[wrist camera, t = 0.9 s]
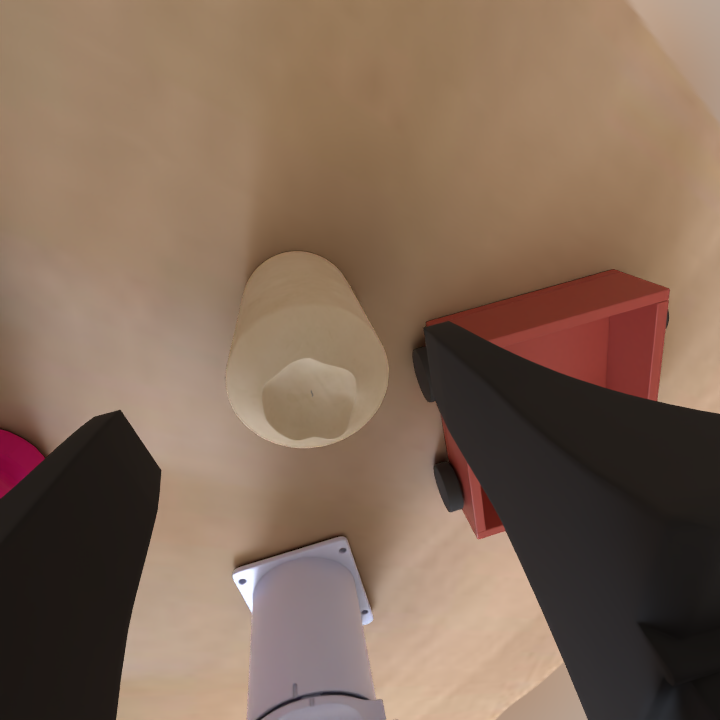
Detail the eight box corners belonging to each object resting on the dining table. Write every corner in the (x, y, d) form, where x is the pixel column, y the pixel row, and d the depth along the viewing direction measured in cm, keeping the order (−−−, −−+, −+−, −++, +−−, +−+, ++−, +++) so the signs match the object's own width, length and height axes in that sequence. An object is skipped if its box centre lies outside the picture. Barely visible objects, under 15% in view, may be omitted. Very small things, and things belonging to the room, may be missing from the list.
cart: (604, 448, 31) (647, 487, 27) (453, 494, 30) (477, 540, 26) (613, 268, 25) (670, 288, 21) (425, 321, 24) (451, 350, 20)
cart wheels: (615, 490, 33) (650, 525, 30) (447, 543, 32) (464, 584, 29) (630, 278, 25) (679, 295, 22) (408, 341, 24) (428, 368, 21)
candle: (315, 227, 21) (345, 283, 12) (369, 318, 23) (428, 421, 14) (219, 287, 21) (179, 384, 12) (283, 370, 24) (288, 501, 15)
